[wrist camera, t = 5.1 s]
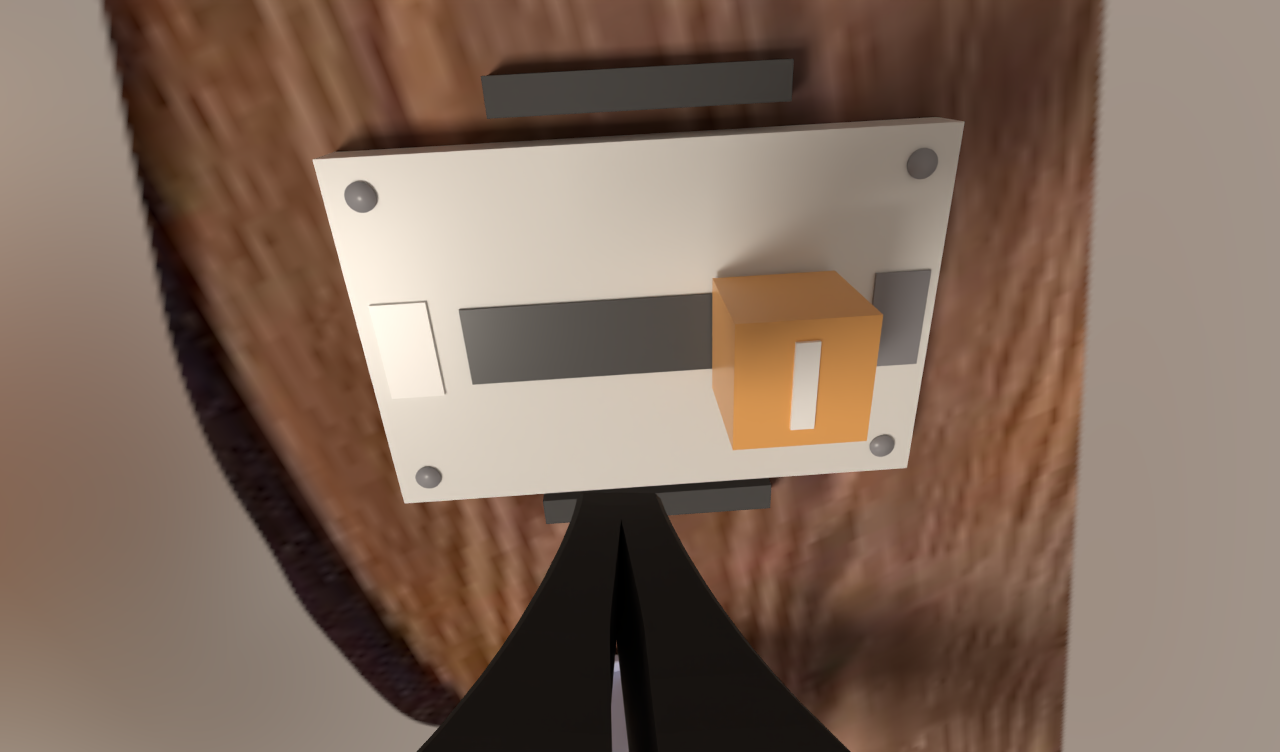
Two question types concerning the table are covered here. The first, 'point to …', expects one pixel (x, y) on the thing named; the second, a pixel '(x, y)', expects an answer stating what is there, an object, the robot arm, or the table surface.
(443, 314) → the panel
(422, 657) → the table surface
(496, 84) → the twin dark grey rails
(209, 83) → the table surface
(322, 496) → the table surface
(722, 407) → the orange cube
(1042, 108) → the table surface
